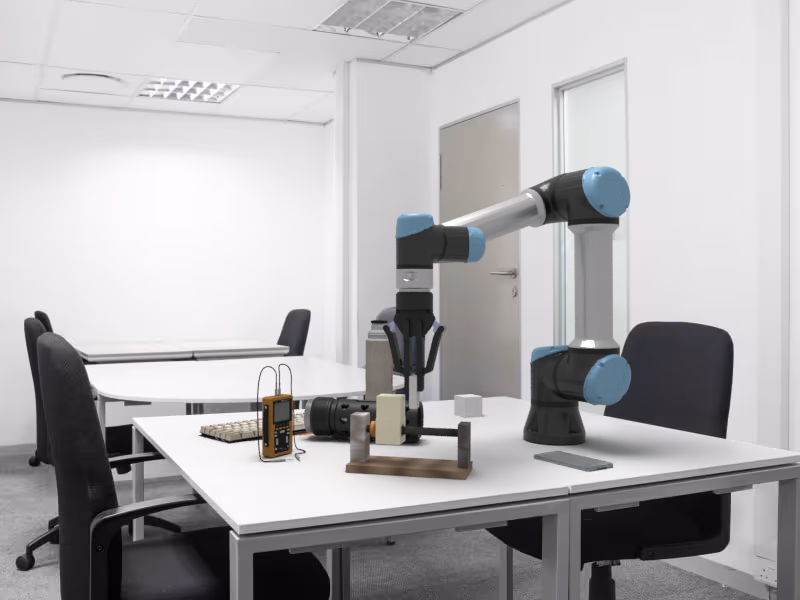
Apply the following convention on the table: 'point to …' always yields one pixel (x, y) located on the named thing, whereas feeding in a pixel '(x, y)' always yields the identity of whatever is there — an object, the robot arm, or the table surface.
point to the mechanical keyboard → (245, 430)
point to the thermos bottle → (378, 362)
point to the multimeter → (277, 423)
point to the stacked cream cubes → (390, 418)
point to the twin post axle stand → (405, 465)
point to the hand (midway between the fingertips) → (414, 407)
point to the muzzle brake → (335, 416)
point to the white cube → (468, 405)
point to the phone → (573, 461)
